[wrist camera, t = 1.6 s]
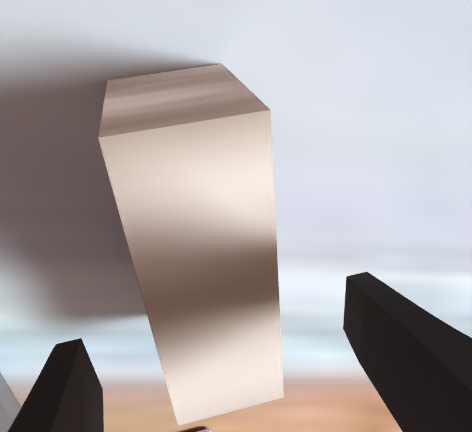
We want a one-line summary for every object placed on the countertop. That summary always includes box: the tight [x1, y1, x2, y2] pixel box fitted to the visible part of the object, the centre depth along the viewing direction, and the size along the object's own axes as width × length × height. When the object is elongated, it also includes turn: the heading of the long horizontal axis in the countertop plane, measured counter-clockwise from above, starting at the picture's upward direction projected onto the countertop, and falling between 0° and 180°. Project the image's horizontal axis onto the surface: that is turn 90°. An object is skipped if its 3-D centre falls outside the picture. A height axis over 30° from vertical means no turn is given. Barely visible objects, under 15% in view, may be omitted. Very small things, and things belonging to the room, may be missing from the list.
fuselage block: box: [98, 64, 284, 426], centre depth 15 cm, size 11×4×6 cm, turn 5°
